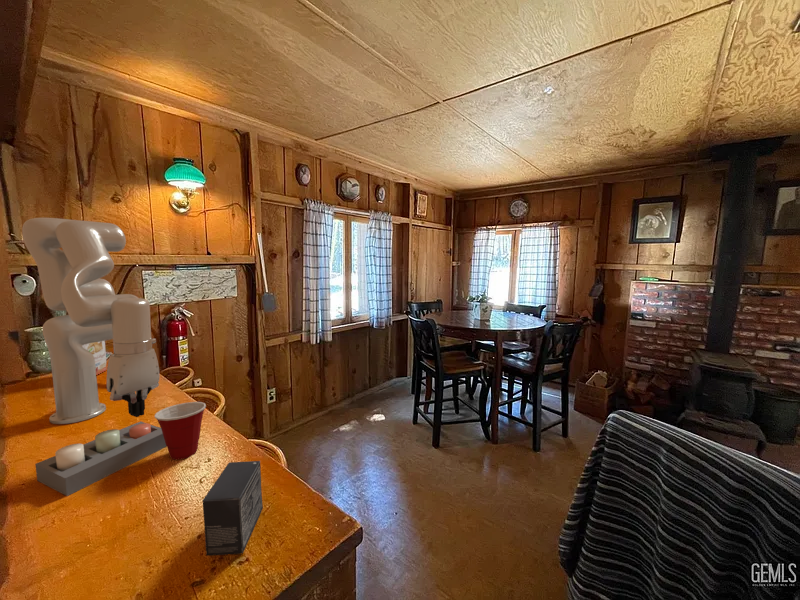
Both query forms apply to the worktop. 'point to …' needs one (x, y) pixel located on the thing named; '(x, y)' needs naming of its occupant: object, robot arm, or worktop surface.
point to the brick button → (139, 430)
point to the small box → (232, 508)
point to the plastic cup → (181, 428)
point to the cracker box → (98, 355)
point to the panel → (100, 461)
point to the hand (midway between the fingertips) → (137, 414)
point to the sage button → (107, 441)
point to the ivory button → (69, 456)
